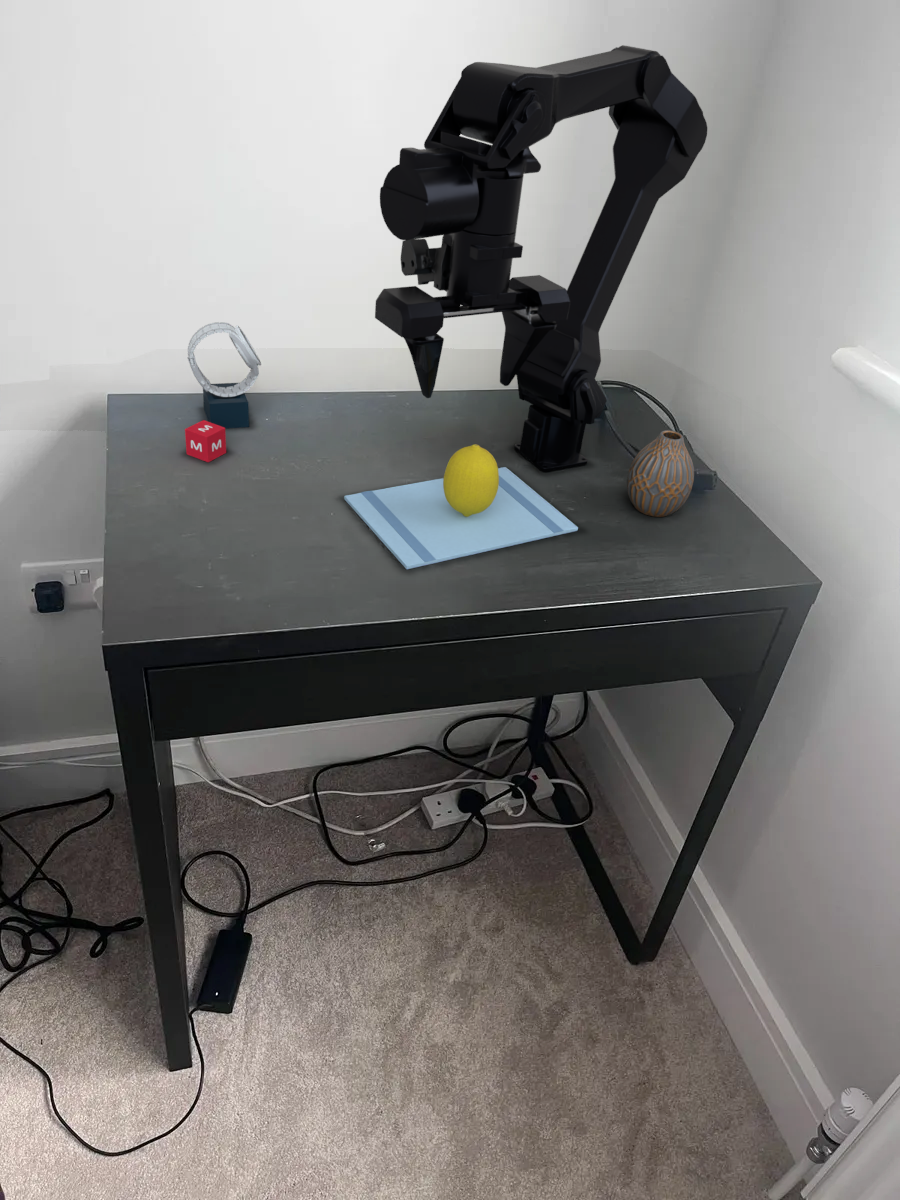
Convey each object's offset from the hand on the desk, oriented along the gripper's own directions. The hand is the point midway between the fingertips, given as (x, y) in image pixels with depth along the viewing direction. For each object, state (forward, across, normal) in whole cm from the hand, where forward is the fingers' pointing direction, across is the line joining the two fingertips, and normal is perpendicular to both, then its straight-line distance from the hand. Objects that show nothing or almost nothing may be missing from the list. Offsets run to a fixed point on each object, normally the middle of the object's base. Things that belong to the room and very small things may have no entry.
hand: (466, 390), depth 91 cm
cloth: (+12, +2, +4) cm, 13 cm away
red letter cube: (+12, +21, -18) cm, 30 cm away
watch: (+12, +16, -25) cm, 32 cm away
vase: (+12, -19, +11) cm, 25 cm away
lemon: (+12, +2, +5) cm, 13 cm away
